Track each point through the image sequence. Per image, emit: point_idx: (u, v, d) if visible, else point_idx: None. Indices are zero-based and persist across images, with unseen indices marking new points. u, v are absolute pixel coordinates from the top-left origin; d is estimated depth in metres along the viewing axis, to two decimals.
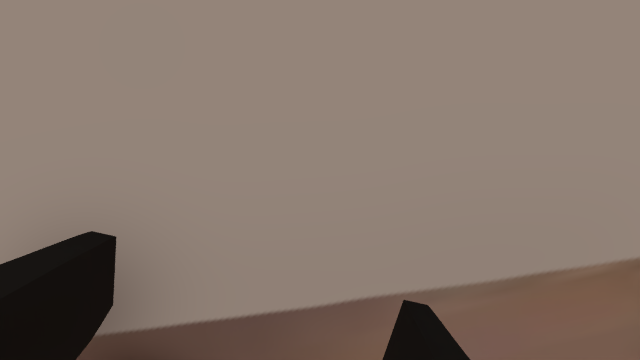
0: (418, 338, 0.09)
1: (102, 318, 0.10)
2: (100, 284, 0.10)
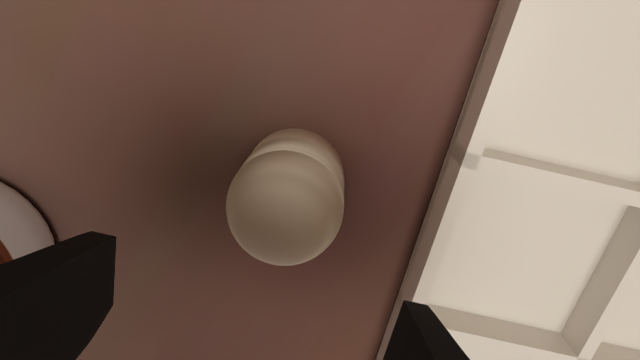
0: (418, 338, 0.09)
1: (102, 318, 0.10)
2: (100, 284, 0.10)
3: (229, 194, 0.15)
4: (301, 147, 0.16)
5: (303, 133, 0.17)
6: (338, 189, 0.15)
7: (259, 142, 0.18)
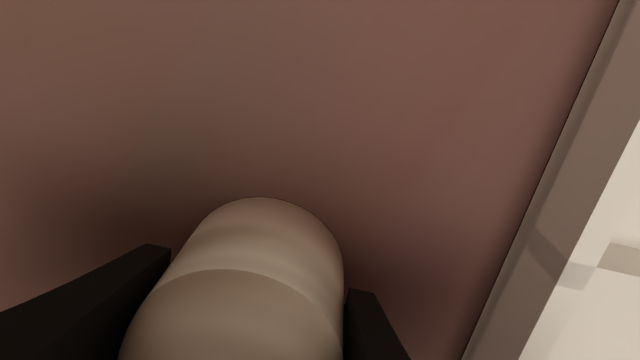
0: (354, 325, 0.09)
1: None
2: None
3: (118, 358, 0.08)
4: (264, 256, 0.08)
5: (273, 211, 0.10)
6: (332, 344, 0.08)
7: (203, 219, 0.11)
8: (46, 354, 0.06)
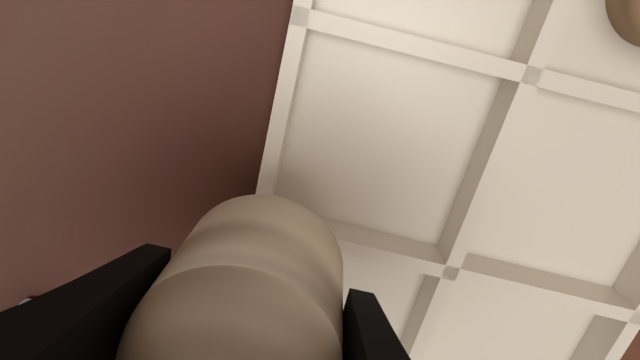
0: (354, 324, 0.09)
1: None
2: None
3: (117, 355, 0.08)
4: (262, 252, 0.08)
5: (273, 208, 0.10)
6: (331, 340, 0.08)
7: (202, 217, 0.11)
8: (46, 354, 0.06)
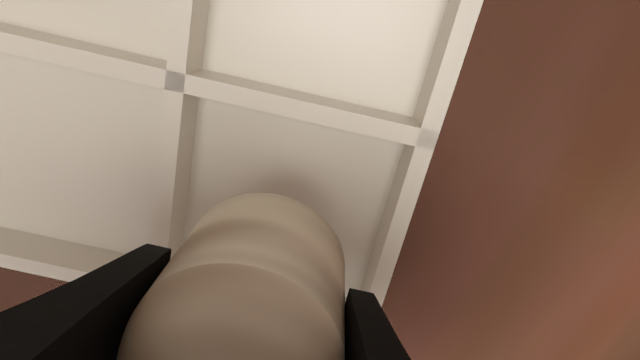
0: (354, 324, 0.09)
1: None
2: None
3: (118, 353, 0.07)
4: (264, 251, 0.08)
5: (274, 206, 0.10)
6: (333, 338, 0.08)
7: None
8: (46, 354, 0.06)
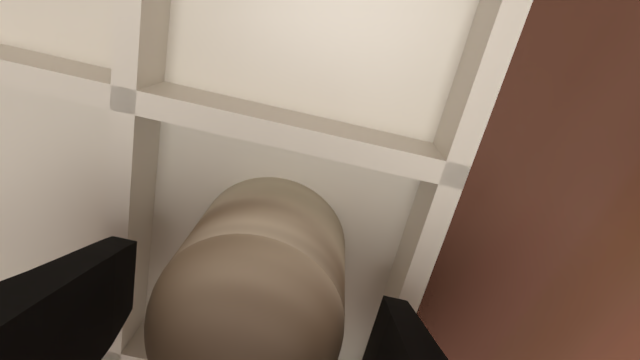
0: (394, 333, 0.09)
1: (123, 322, 0.10)
2: (122, 289, 0.10)
3: (147, 312, 0.09)
4: (273, 224, 0.09)
5: (280, 188, 0.11)
6: (334, 299, 0.09)
7: (216, 198, 0.12)
8: None
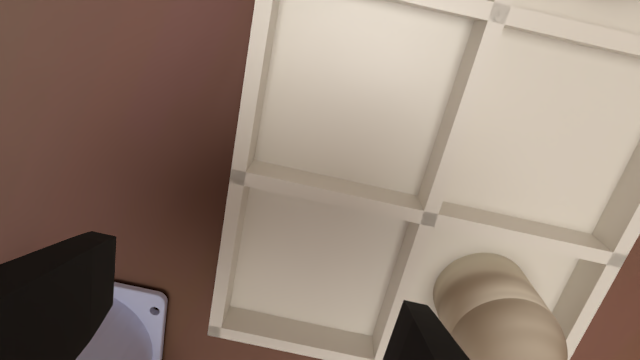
0: (418, 338, 0.09)
1: (102, 318, 0.10)
2: (100, 284, 0.10)
3: (465, 341, 0.16)
4: (521, 291, 0.17)
5: (500, 262, 0.19)
6: (563, 333, 0.16)
7: (450, 265, 0.20)
8: None
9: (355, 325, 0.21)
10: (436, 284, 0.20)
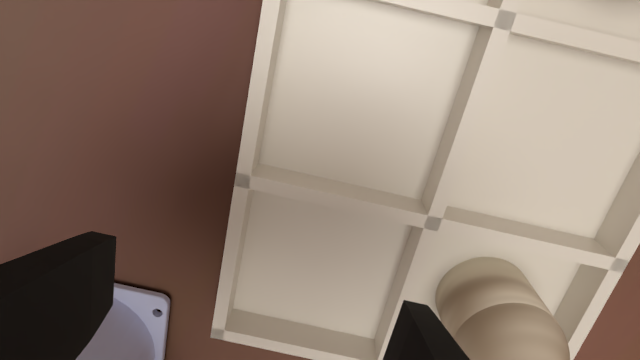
0: (418, 338, 0.09)
1: (102, 318, 0.10)
2: (100, 284, 0.10)
3: (468, 345, 0.16)
4: (524, 295, 0.17)
5: (503, 266, 0.19)
6: (565, 338, 0.16)
7: (452, 269, 0.20)
8: None
9: (357, 328, 0.21)
10: (438, 288, 0.20)
